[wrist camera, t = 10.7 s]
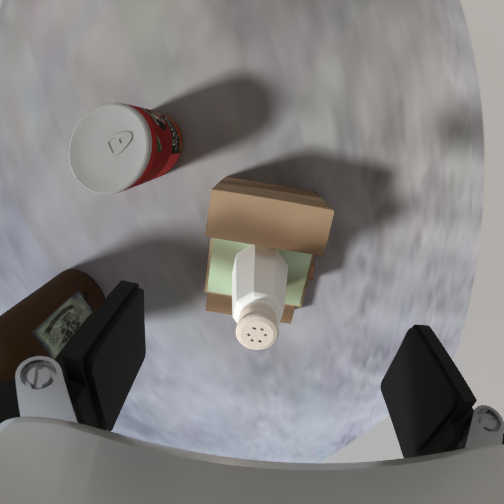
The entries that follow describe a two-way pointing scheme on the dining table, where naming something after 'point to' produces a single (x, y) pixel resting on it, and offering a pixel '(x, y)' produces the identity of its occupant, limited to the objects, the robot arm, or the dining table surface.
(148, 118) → the canned food
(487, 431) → the robot arm
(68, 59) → the dining table surface
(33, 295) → the olive oil
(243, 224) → the stand
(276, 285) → the pepper shaker
